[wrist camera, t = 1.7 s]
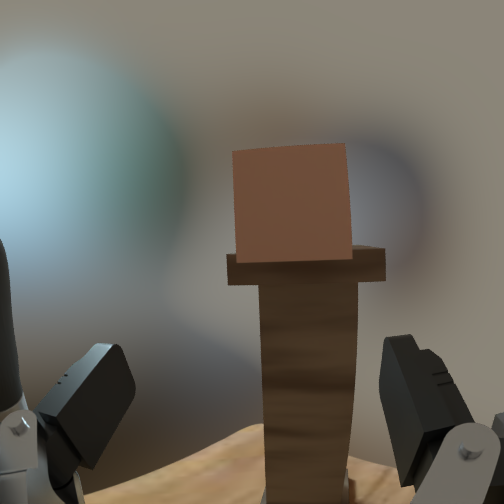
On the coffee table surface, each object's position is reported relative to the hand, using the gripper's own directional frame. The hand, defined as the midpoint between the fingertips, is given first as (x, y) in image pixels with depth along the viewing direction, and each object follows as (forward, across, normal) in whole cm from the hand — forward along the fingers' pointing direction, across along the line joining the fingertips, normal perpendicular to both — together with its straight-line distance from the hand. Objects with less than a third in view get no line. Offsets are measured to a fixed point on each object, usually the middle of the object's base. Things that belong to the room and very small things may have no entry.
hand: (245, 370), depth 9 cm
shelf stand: (+10, -1, +31) cm, 33 cm away
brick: (+14, -2, +1) cm, 14 cm away
